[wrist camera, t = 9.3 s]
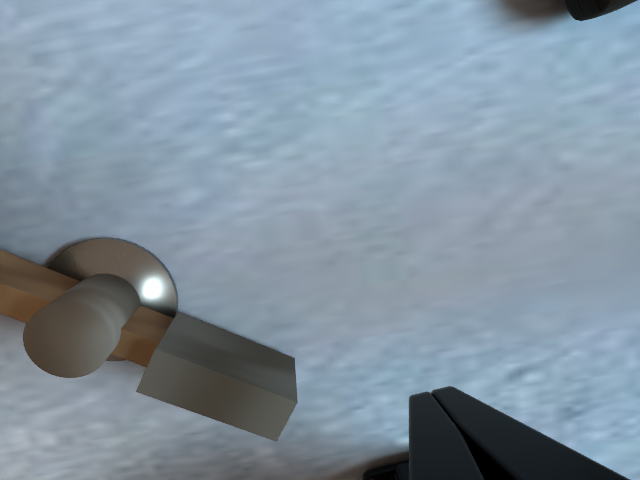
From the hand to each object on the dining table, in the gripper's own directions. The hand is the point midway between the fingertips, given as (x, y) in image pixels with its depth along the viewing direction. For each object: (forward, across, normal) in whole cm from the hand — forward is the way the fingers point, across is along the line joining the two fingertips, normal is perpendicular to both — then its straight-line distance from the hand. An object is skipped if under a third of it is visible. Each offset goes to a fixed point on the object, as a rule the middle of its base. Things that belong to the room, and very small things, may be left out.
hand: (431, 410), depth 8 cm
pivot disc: (+12, +11, 0) cm, 16 cm away
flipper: (+11, +12, -1) cm, 17 cm away
